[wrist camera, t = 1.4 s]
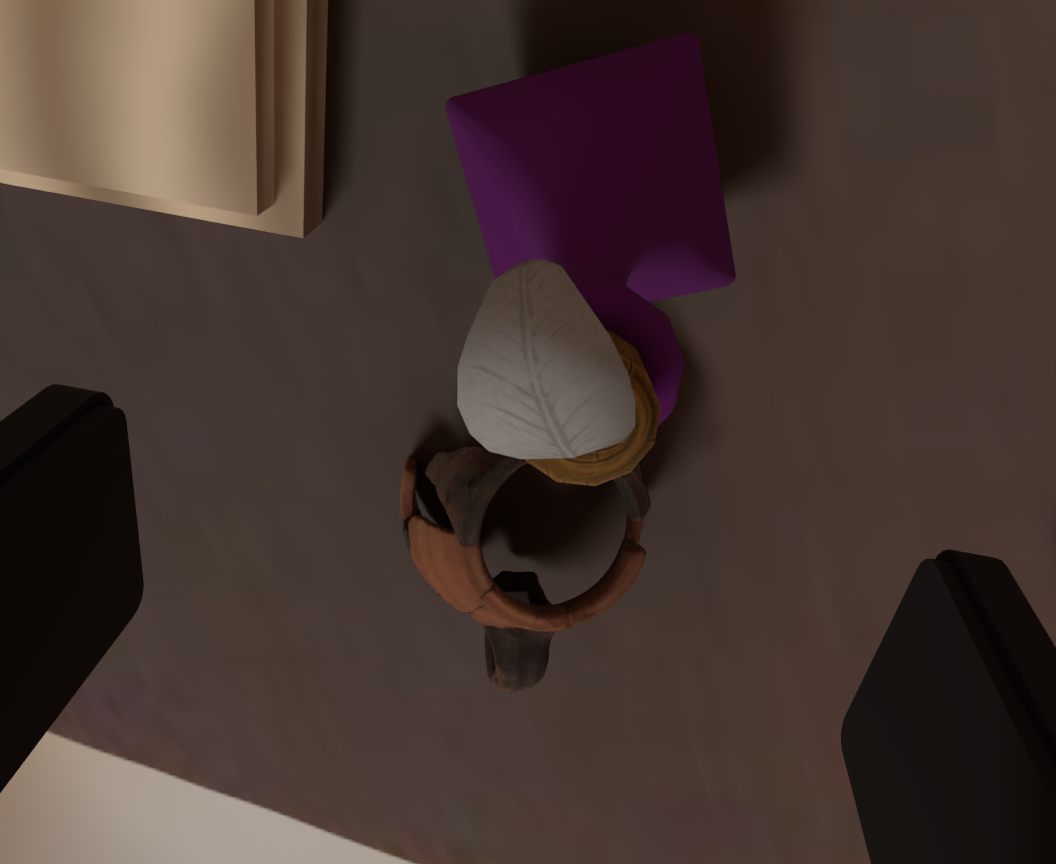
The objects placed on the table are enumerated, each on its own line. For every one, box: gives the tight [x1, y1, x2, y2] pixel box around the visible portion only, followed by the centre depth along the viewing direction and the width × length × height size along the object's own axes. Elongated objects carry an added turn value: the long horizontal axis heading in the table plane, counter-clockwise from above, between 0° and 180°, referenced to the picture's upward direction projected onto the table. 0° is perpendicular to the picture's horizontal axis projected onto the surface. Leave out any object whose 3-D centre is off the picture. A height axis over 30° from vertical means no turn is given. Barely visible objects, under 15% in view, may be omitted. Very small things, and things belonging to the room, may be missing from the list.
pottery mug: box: [400, 446, 651, 693], centre depth 34 cm, size 12×10×8 cm
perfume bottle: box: [446, 33, 736, 486], centre depth 21 cm, size 8×8×18 cm
